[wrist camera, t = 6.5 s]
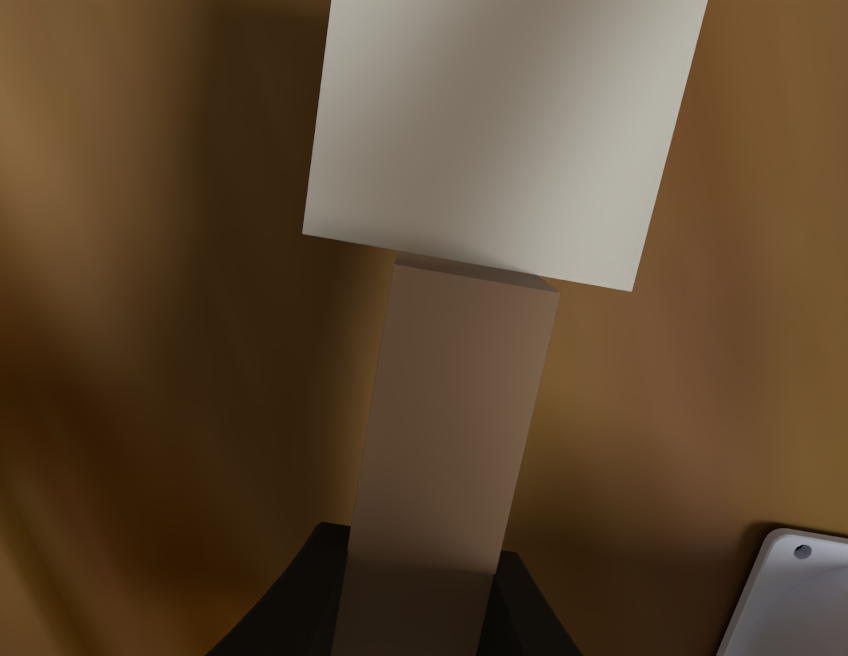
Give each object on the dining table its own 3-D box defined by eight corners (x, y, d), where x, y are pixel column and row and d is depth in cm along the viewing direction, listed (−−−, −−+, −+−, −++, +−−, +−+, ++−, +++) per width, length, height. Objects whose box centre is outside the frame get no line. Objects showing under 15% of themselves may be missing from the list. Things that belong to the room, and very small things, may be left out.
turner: (659, 25, 11) (780, -60, 8) (488, 721, 15) (509, 903, 11) (357, -33, 11) (319, -152, 7) (261, 688, 15) (204, 861, 11)
